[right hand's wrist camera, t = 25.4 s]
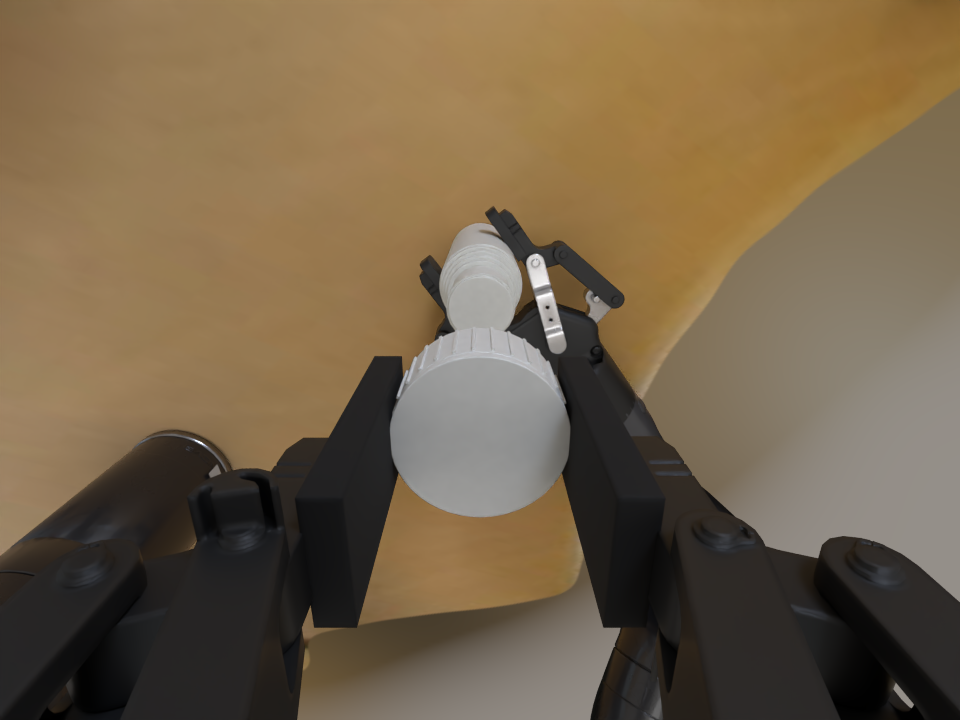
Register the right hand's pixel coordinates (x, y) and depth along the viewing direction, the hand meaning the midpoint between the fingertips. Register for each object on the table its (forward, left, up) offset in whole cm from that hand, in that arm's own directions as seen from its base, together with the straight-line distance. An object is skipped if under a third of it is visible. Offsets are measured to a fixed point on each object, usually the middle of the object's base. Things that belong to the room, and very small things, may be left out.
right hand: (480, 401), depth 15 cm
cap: (0, 0, +2) cm, 2 cm away
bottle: (0, 0, -28) cm, 28 cm away
